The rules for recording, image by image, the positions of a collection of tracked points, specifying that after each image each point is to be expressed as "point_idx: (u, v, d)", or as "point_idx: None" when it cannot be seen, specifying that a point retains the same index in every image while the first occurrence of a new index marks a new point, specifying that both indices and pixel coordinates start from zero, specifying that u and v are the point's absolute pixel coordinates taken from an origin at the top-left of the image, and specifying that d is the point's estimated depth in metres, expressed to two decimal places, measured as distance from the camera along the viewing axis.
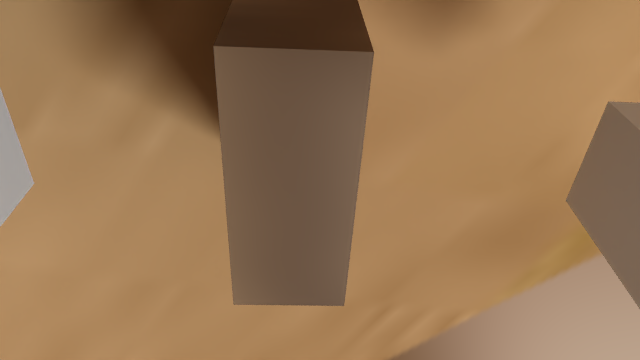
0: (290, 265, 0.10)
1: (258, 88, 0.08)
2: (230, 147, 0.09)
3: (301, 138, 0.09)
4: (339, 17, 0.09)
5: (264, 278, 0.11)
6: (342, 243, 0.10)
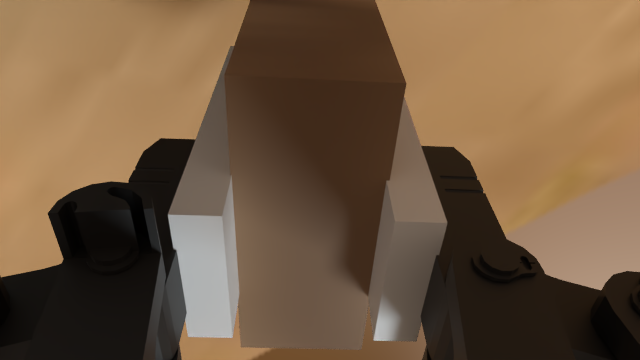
0: (303, 308, 0.09)
1: (273, 121, 0.07)
2: (241, 184, 0.08)
3: (320, 175, 0.08)
4: (363, 39, 0.08)
5: (275, 321, 0.10)
6: (362, 286, 0.09)
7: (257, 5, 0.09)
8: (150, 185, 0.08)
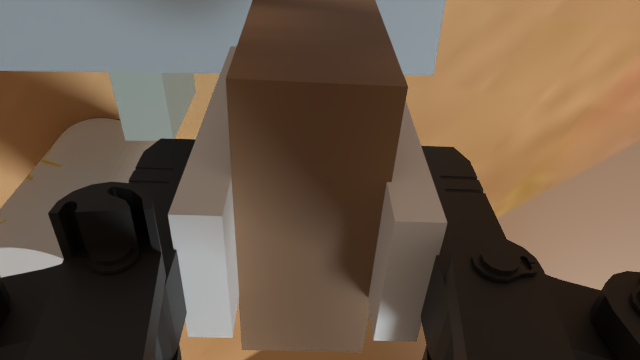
0: (304, 311, 0.09)
1: (275, 125, 0.07)
2: (242, 187, 0.08)
3: (321, 178, 0.08)
4: (364, 42, 0.08)
5: (276, 323, 0.10)
6: (363, 289, 0.09)
7: (258, 7, 0.09)
8: (150, 185, 0.08)
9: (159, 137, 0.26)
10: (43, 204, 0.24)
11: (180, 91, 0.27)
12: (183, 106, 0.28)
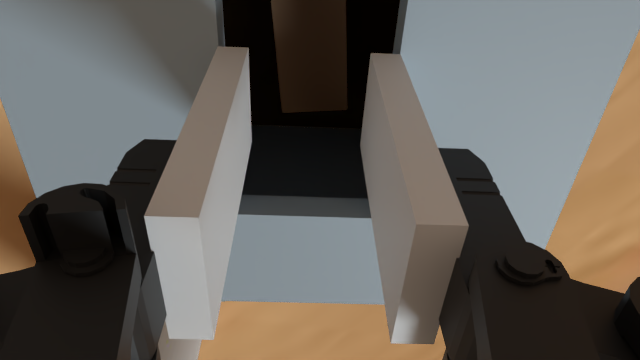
0: (312, 80, 0.18)
1: None
2: (275, 1, 0.16)
3: None
4: None
5: (299, 91, 0.18)
6: (341, 61, 0.18)
7: None
8: (131, 186, 0.08)
9: None
10: None
11: None
12: None
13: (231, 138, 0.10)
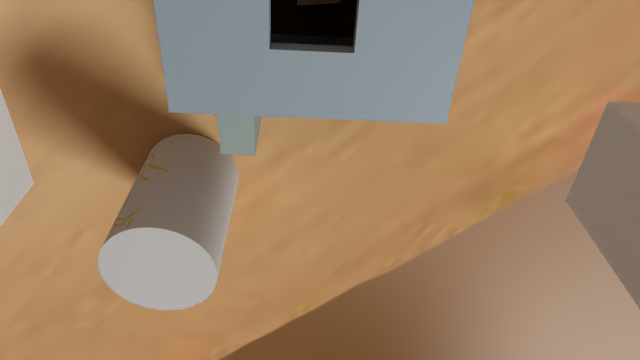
0: None
1: None
2: None
3: None
4: None
5: None
6: None
7: None
8: None
9: (245, 152, 0.36)
10: (164, 198, 0.34)
11: (258, 119, 0.37)
12: (258, 129, 0.38)
13: None
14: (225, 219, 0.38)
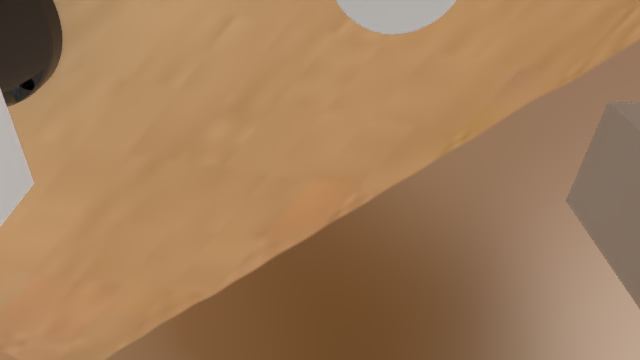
0: None
1: None
2: None
3: None
4: None
5: None
6: None
7: None
8: None
9: None
10: None
11: None
12: None
13: None
14: None
